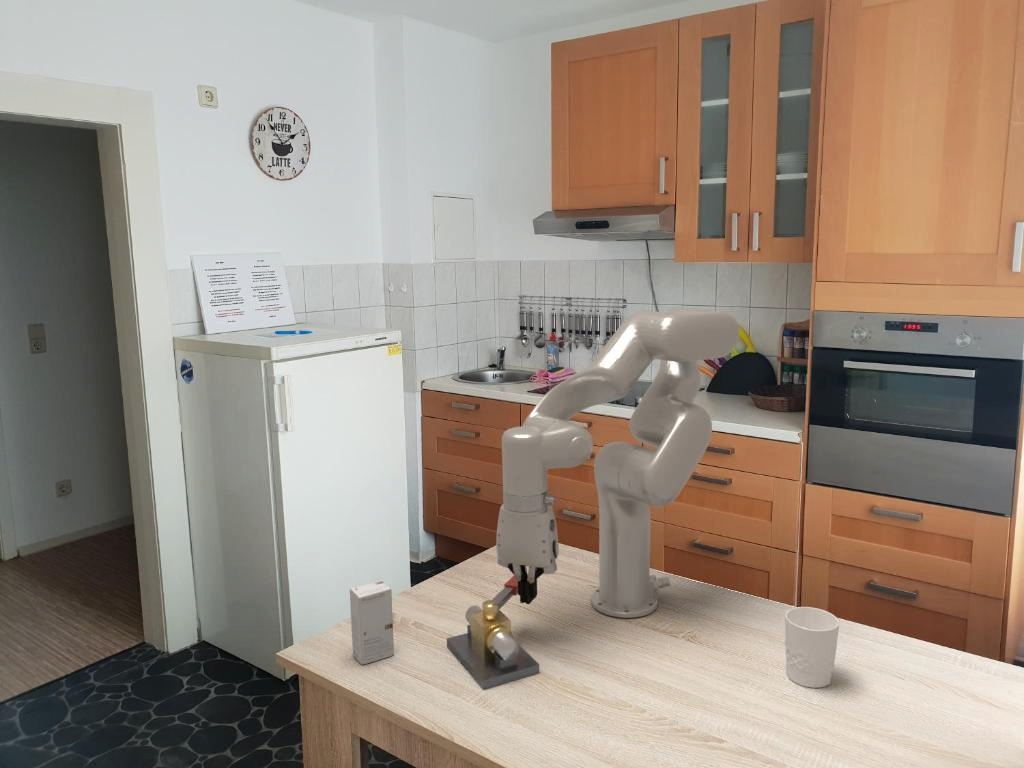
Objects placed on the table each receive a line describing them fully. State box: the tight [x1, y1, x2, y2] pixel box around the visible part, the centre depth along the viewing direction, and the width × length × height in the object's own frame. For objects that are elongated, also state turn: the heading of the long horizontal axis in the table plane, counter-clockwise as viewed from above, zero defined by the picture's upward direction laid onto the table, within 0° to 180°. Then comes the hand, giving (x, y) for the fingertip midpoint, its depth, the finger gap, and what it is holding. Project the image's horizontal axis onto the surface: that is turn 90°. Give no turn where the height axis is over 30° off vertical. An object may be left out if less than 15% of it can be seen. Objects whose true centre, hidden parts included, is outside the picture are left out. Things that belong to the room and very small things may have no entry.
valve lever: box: [481, 575, 518, 619], centre depth 135 cm, size 13×3×2 cm, turn 156°
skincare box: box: [349, 580, 395, 666], centre depth 132 cm, size 6×4×12 cm
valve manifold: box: [446, 605, 540, 691], centre depth 131 cm, size 10×15×8 cm, turn 27°
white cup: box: [784, 606, 840, 689], centre depth 124 cm, size 8×8×10 cm
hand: (527, 600), depth 136 cm, fingers closed
